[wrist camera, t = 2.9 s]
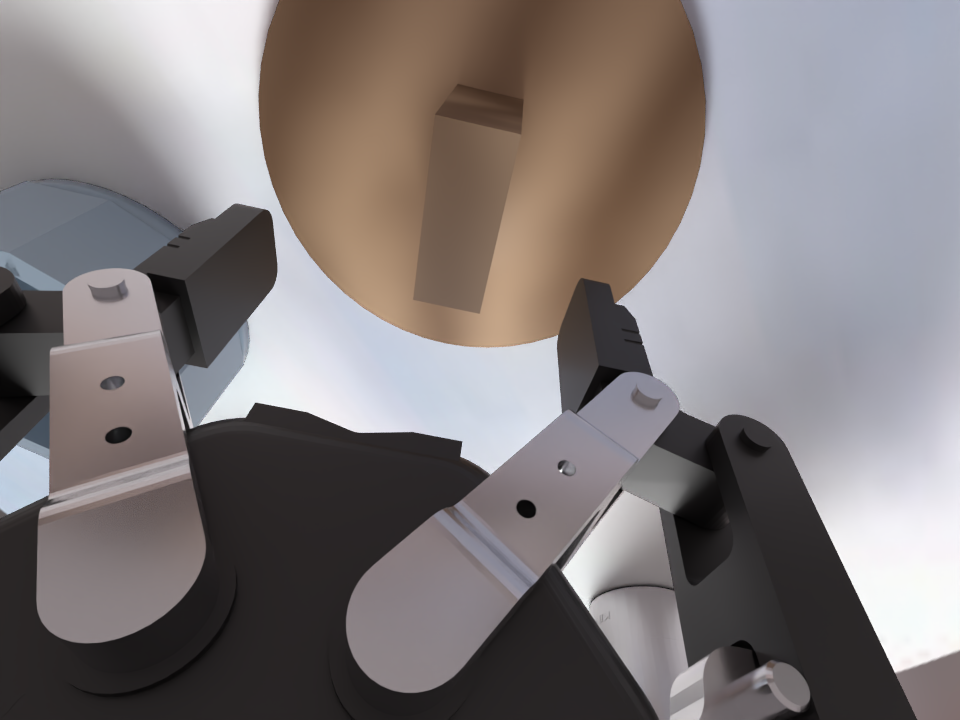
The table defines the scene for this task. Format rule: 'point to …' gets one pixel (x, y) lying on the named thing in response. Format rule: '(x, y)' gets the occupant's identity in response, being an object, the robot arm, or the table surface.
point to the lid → (481, 152)
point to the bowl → (95, 265)
